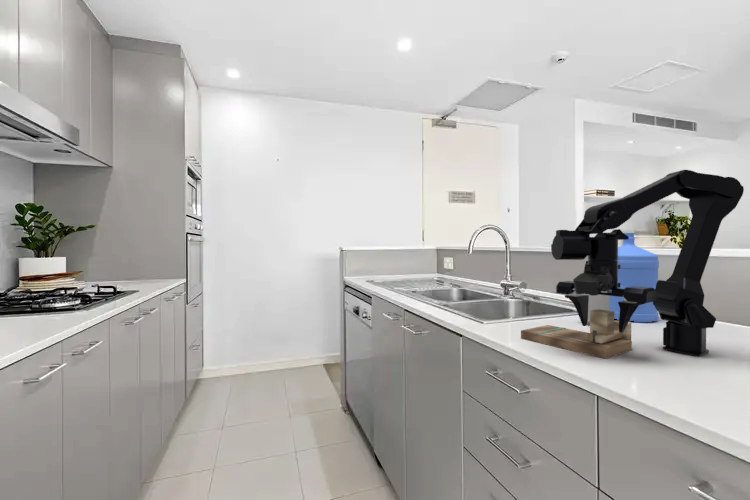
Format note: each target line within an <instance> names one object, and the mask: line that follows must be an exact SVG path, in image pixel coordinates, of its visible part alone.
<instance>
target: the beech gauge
mask: <svg viewBox="0 0 750 500" xmlns="http://www.w3.org/2000/svg"><path fill="white" fill-rule="evenodd" d="M614 319H615V311H608V310H601V309H596V310H591V311H590V326H589V332H587V333H588V334H587V341H591V342H596V343H601V344H602V343H605V342H608V341H612V340H615V339H623V340H628V341H632V322H628V324H627V326H626V328H625V330H624V332H623V333H620V332H619V320H614Z"/></svg>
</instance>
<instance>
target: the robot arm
mask: <svg viewBox="0 0 750 500" xmlns="http://www.w3.org/2000/svg"><path fill="white" fill-rule="evenodd" d="M744 191H745V188H744V185H742V184H741V182H740V181H739V180H738V178H736V177H732V176H725V177H724V176H722V175H719V174H718V175H717V174H710V173H709V174H708V173H701V172H698V171H694V170H690V169H682V170H678V171H674V172H671V173H668V174H666V175H665V176H663V177H662V178H660V179H658V180H656V181H653V182H651V183H649V184H647V185H645V186H643V187H641V188H639V189H637V190H635V191H633V192H632V193H628V194H626V195H625V196H623V197H621V198H618V199H614V200H611V201H607V202H603V203H600V204H596V205H593V206H590V207H587V209H586V210H585V211H584V215H583V219H582V220H581V221H580V223H579V224H578V226H577V227H576V228H575V229H574V230H568V229H557V230H555V236H554V237H553V240H552V244H551V245H550V250H551V255H552V258H554V259H555V260H556V261H557V260H559V261H565V260H566V261H570V260H571V261H583V260H585V259H586V258H587V261H588V264H586V263H585V264H584V268H583V269H584V270H583V272H582V273H580V274H578V275H577V276H576V277H574V278H573V280H566V281H565V280H563V281H559V282H557V284H556V286H555V293H556V294H559V295H561V294H562V295H564V298H565V299H569V301H570V302H572V304H573V305H574V307H575V310H576V312H577V315H578V317H579V320H580V322H581V325H582V327H585V326H586V327H587V326H588V325H587V320H588V303H589V295H592V296H596V295H609V296H618V297H623V301H621V302H618V304H619V307H620V316H619V320H618V321H619V332H620V333H623V332H624V330H625V328H626V326H627V324H628V322H629V320H630V318H631V316H632V315H633V313H634V312H635V310H636V309H637V307H638V306H639V305H642V304H645V303H649V302H653V305H654V306H655V308H656V310H657V311H658V316H659V318H660V319H661V321H666V322H665V326H664V327H662V328H663V329H662V336H663V337H662V345H663V347H662V350H664V351H665V350H666V351H669V352H673V353H674V352H675V353H681V354H683V355H684V354H685V355H690V356H695V357H702V356H704V355H706V354H708V353H710V349H707V329H708V328H710V329H711V328H714V327H715V324H716V321H717V318H716V317H715V316H714V315H713V314H712V313H711V312H710V310H708V309H707V308H706V307H705V306H704V300H705V293H704V290H703V287H702V284H701V280H702V277H703V275H704V272H705V269H706V266H707V263H708V261H709V258H710V255H711V252H712V248H713V245H714V244H715V240H716V238H717V235H718V232H719V230H720V226H721V223H722V221H723V220H724V219H725V218H726V217H727V216H728V215H729V214H730V213H732V212H733V210H735V209H736V207H737V206H738V204H739V202H740V200H741V199H742V197H743V195H744ZM673 194H677V195H679V197H681V198H684V199H687V200H688V207H689V210H690V213H691V216H692V217H691V219H690V223H689V226H688V228H687V230H686V235H685V236H684V240H683V243H682V245H681V248H680V252H679V254H678V257H677V260H676V263H675V266H674V268H673V272H672V273H671V275H670V276H669V277H668V278H667V279H666V280H662V279H658V282H657V283H656V289H654V288H651V287H639V286H632V287H625V289H622V288H619V287H620V283H618V269H620V265H618V247H619V240H620V241H623V240H627V239H629V237H628V236H627V235H626V234H624V233H625V232H623V231H622V230H621V229H619V227H620V226H621V225H623V224H624V223H626V222H627V221H628V220H630V219H631V218H632V216H633V215H635V214H636V213H637V212H638V211H640V210H642V209H644V208H647V207H648V206H650V205H653V204H654V203H657V202H658V201H660V200H663V199H665V198H668V197H669V196H671V195H673ZM617 228H618V229H617ZM607 230H612V231H610V232H605V231H607ZM594 234H595V235H594ZM591 235H594V236H593V237H591ZM585 294H589V295H585ZM629 323H630V322H629Z"/></svg>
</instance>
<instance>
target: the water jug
mask: <svg viewBox="0 0 750 500" xmlns="http://www.w3.org/2000/svg"><path fill="white" fill-rule="evenodd" d="M623 233H624V234H626V235H627V236H628V237H629V239H627V240H622V245H621V246H618V265H620V269H618V283H620V287H619V288H622V289H625V287H632V286H639V287H651V288H654V289H656V283H657V282H658V280H659V267H660V263H659V262H660V261H659V255H658V254H655V253H653V252H650V251H648V250H646V249H644V248H642V247H638V246H637V245H635V239H636V238H635V233H636V232H623ZM621 301H623V297H618V296H610V311H615V319H617V320H616V321H619V316H620V307H619V304H618V302H621ZM658 320H659V312H658V311H657V310H656V308H655V306H654V305H653V302H649V303H645V304H642V305H639V306H638V307H637V309H636V310H635V312H634V313H633V315H632V316H631V318H630V320H629V321H634V322H633V323H653V322H652V321H655V322H656V321H658Z"/></svg>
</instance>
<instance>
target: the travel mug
mask: <svg viewBox="0 0 750 500" xmlns="http://www.w3.org/2000/svg"><path fill="white" fill-rule="evenodd" d="M585 264H588V260H586V261H585ZM584 295H589V294H584ZM596 309H601V310H608V311H610V296H609V295H596V296H592V295H589V303H588V320H587V325H586V326H588V327H590V311H591V310H596Z"/></svg>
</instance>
